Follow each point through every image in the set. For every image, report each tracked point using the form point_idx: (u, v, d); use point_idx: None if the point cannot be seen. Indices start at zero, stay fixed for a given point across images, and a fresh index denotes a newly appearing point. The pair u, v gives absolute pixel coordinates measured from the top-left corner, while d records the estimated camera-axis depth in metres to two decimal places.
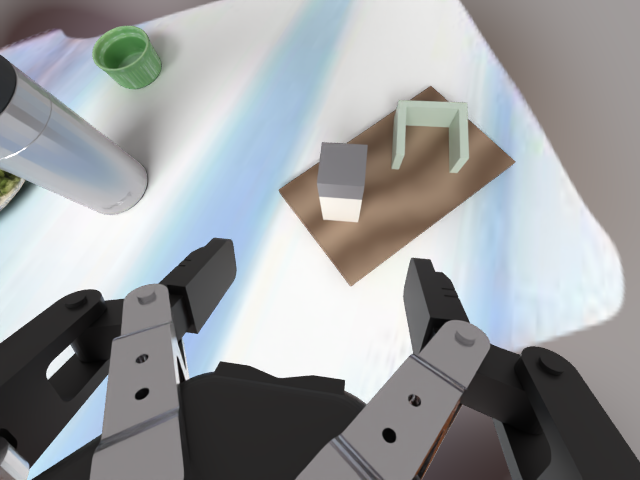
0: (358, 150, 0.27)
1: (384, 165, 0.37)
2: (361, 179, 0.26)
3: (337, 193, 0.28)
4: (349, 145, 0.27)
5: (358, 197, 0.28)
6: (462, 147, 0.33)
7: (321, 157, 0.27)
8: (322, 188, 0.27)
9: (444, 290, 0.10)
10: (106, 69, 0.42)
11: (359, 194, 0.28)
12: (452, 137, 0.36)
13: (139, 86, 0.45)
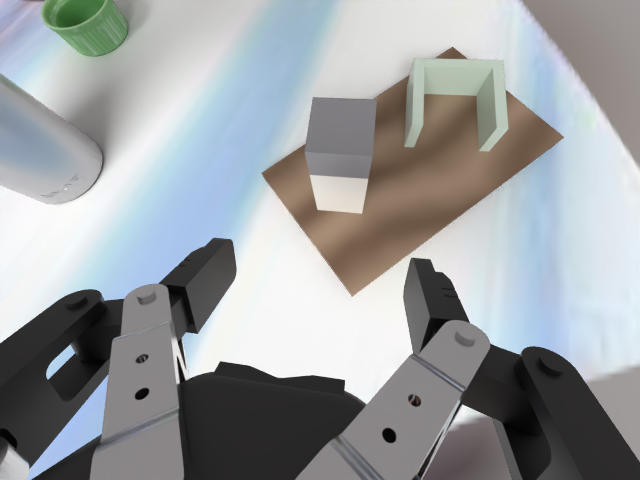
0: (363, 107, 0.19)
1: (395, 142, 0.30)
2: (368, 145, 0.18)
3: (334, 169, 0.20)
4: (351, 100, 0.19)
5: (363, 175, 0.20)
6: (499, 115, 0.26)
7: (311, 117, 0.19)
8: (313, 161, 0.19)
9: (444, 290, 0.10)
10: (55, 28, 0.34)
11: (365, 170, 0.20)
12: (482, 106, 0.29)
13: (100, 52, 0.38)
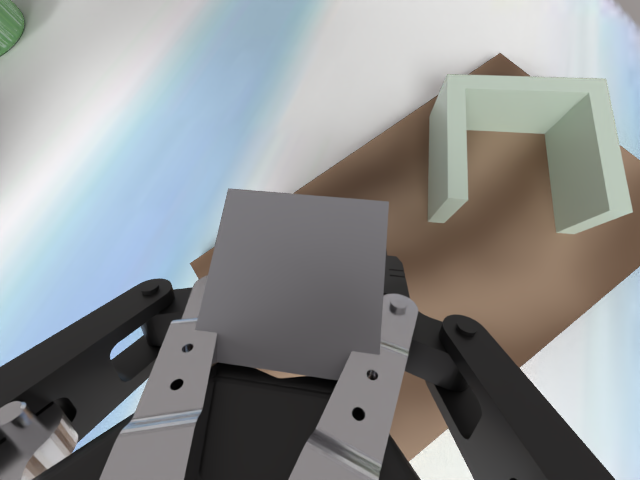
0: (355, 222, 0.07)
1: (412, 214, 0.18)
2: (366, 348, 0.06)
3: None
4: (322, 202, 0.08)
5: None
6: (611, 184, 0.14)
7: (219, 246, 0.07)
8: None
9: (394, 271, 0.11)
10: None
11: None
12: (563, 156, 0.17)
13: None
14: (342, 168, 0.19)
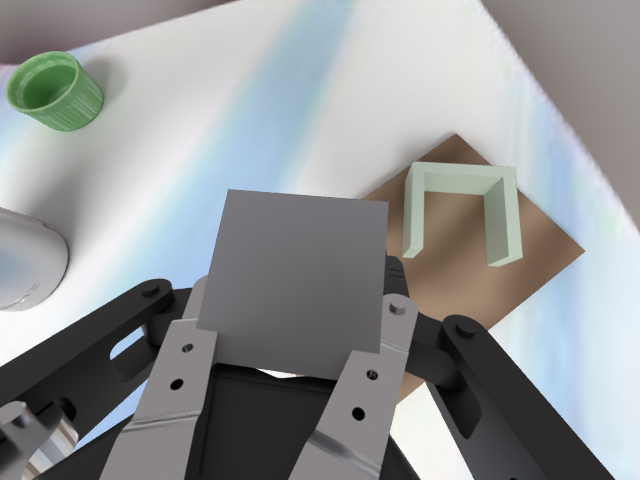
0: (354, 223, 0.07)
1: (391, 251, 0.26)
2: (366, 348, 0.06)
3: None
4: (322, 202, 0.08)
5: None
6: (511, 239, 0.22)
7: (219, 247, 0.07)
8: None
9: (394, 271, 0.11)
10: (20, 110, 0.32)
11: None
12: (491, 214, 0.25)
13: (71, 128, 0.35)
14: None
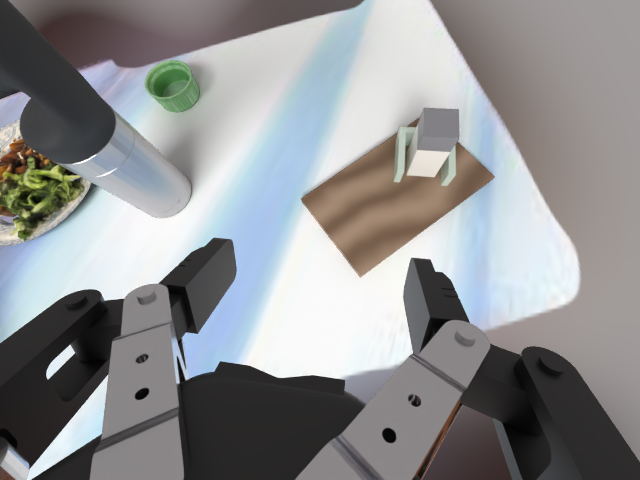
0: (452, 113, 0.37)
1: (387, 179, 0.46)
2: (456, 133, 0.36)
3: (434, 146, 0.38)
4: (445, 110, 0.37)
5: (448, 149, 0.38)
6: (450, 166, 0.42)
7: (424, 118, 0.37)
8: (424, 141, 0.37)
9: (444, 290, 0.10)
10: (157, 97, 0.51)
11: (451, 146, 0.37)
12: None
13: (181, 110, 0.54)
14: (360, 161, 0.47)
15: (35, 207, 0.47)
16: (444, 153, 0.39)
